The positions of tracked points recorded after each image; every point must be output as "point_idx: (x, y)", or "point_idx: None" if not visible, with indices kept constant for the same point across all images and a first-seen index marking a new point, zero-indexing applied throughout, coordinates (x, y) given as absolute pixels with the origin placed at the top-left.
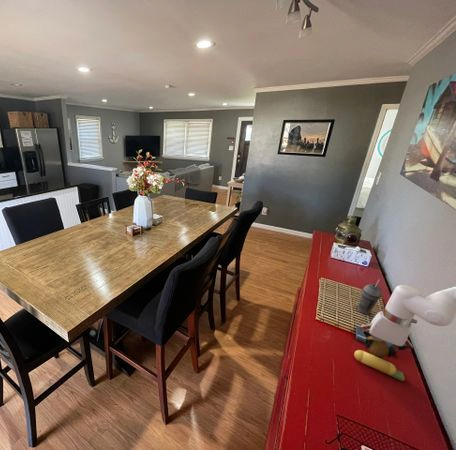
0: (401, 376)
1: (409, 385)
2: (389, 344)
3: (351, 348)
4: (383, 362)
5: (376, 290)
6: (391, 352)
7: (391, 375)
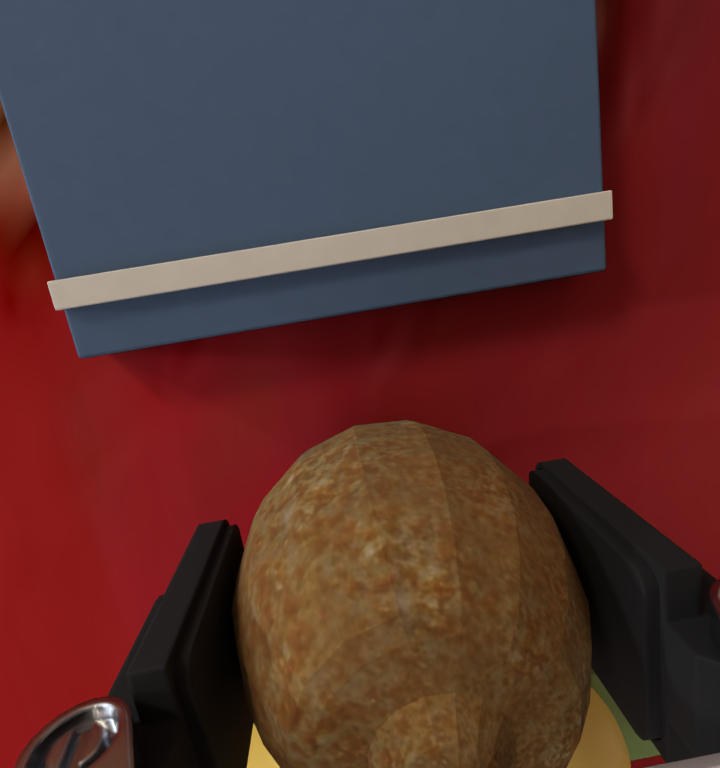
0: None
1: None
2: (551, 68)
3: (119, 613)
4: None
5: None
6: (617, 694)
7: None
